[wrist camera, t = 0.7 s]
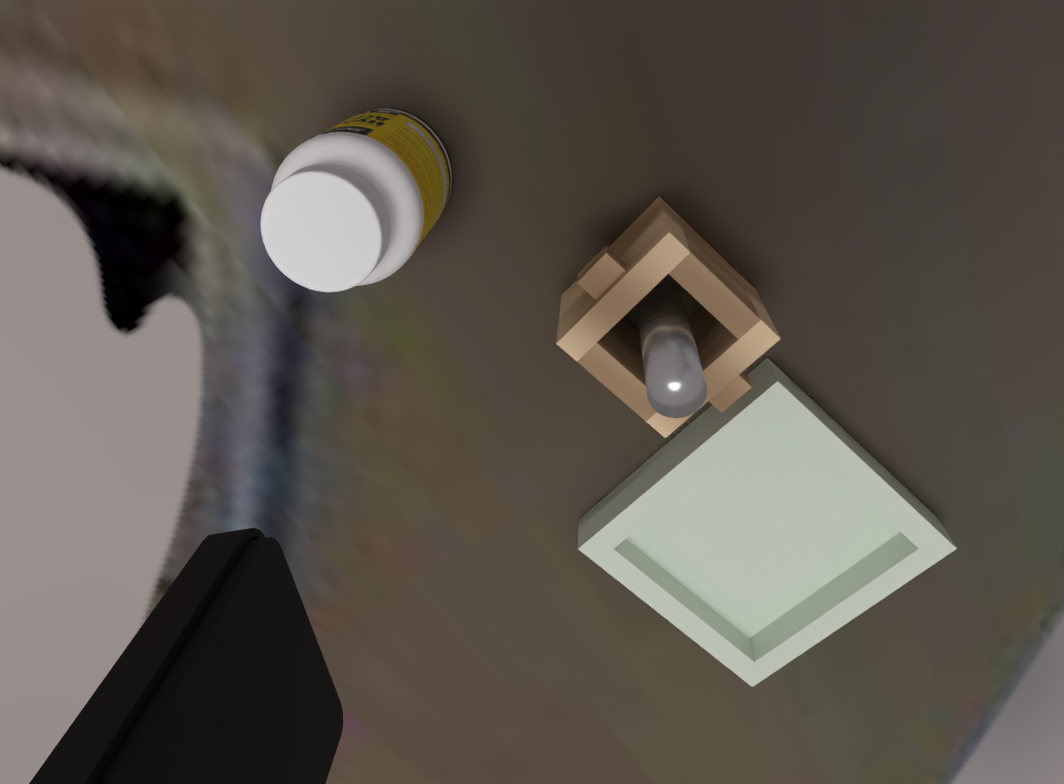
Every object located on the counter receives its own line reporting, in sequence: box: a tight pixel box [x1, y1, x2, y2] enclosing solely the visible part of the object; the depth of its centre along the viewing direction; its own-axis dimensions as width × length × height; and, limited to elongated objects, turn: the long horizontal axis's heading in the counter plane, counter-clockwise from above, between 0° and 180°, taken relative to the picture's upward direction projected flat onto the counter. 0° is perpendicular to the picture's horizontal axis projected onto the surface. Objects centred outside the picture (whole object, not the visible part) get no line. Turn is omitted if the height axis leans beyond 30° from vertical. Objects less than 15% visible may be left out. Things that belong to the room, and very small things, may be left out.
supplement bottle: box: [261, 108, 452, 292], centre depth 31 cm, size 5×5×10 cm
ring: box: [556, 197, 781, 438], centre depth 35 cm, size 6×8×6 cm
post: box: [636, 274, 707, 418], centre depth 33 cm, size 2×2×10 cm
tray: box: [578, 358, 957, 687], centre depth 41 cm, size 12×12×2 cm
